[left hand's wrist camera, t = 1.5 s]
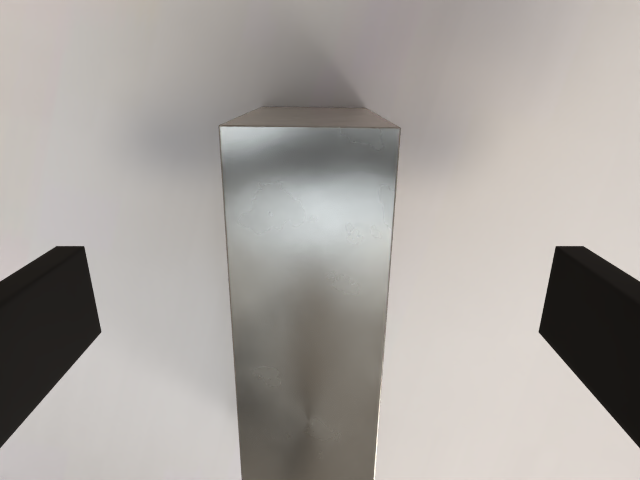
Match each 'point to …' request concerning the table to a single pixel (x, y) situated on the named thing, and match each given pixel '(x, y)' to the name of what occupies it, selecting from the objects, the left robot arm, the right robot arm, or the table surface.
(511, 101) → the table surface
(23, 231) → the table surface
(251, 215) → the box
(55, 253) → the left robot arm
